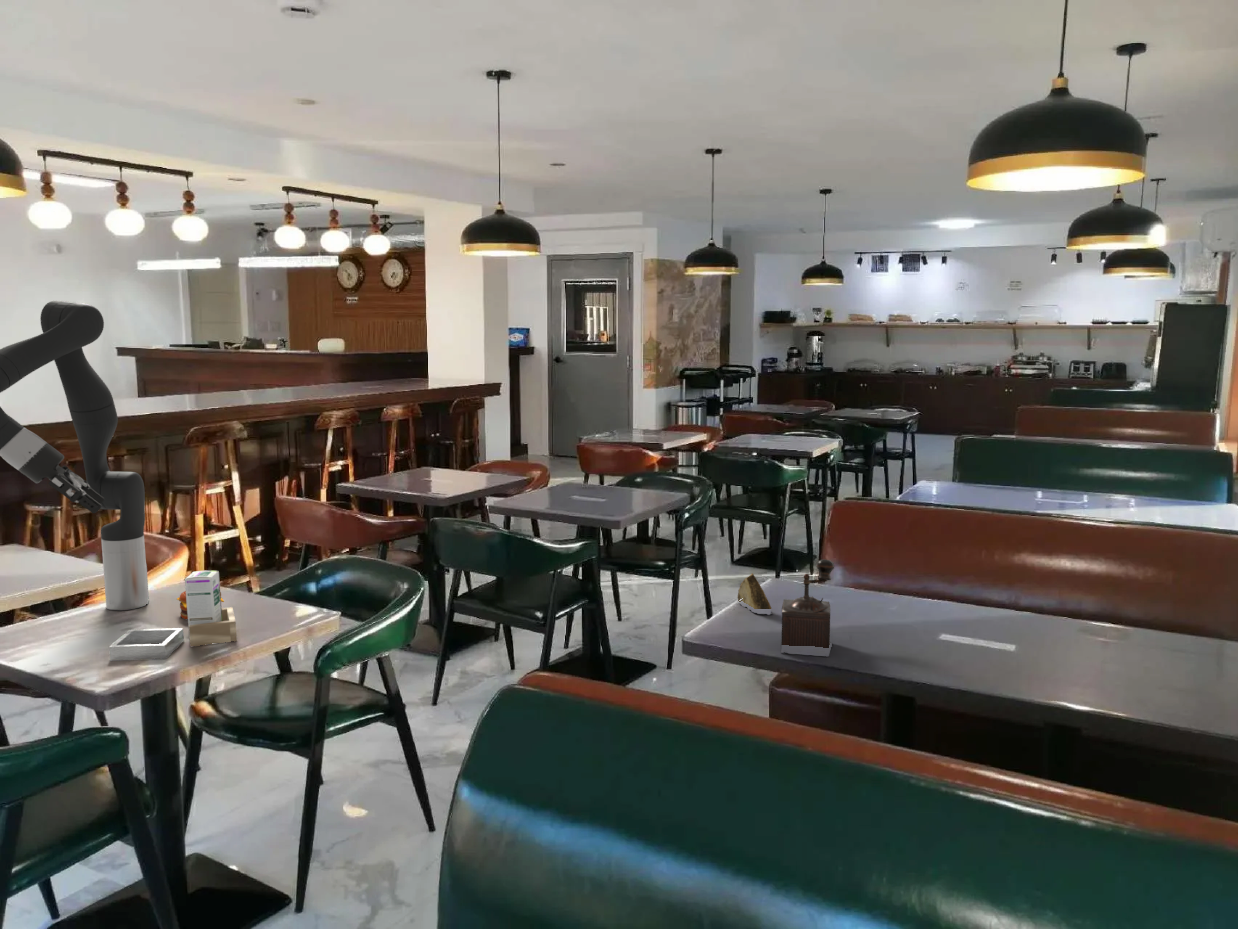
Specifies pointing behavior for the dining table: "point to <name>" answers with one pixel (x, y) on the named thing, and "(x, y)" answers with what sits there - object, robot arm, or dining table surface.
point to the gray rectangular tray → (146, 644)
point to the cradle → (214, 630)
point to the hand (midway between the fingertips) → (99, 506)
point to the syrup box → (203, 597)
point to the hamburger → (184, 605)
